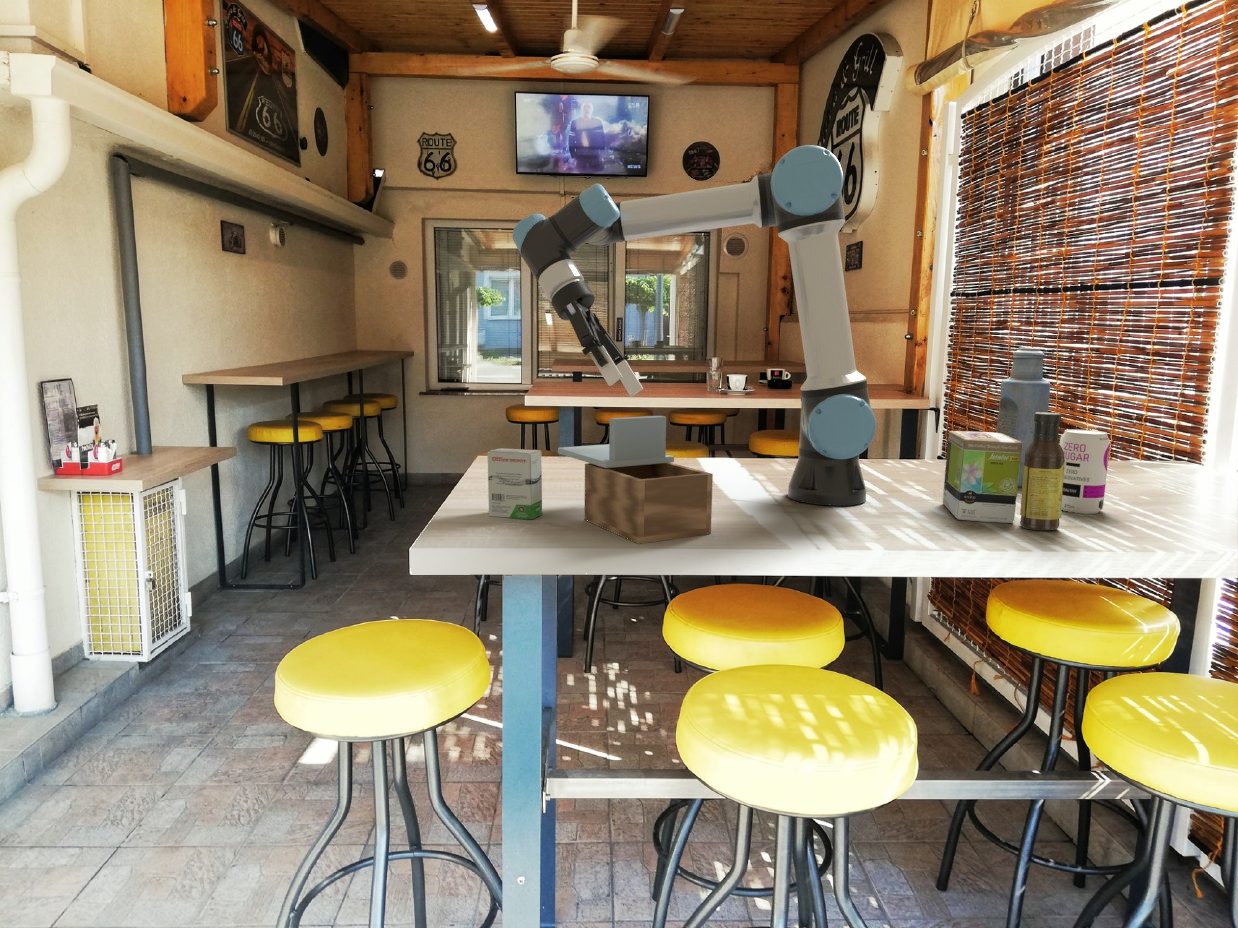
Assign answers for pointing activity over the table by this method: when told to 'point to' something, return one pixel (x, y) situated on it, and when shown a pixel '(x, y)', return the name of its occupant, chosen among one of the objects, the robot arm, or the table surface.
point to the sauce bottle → (1043, 475)
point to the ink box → (515, 483)
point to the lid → (627, 444)
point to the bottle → (1023, 399)
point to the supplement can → (1084, 470)
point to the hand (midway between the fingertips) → (627, 387)
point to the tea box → (982, 476)
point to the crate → (649, 501)
